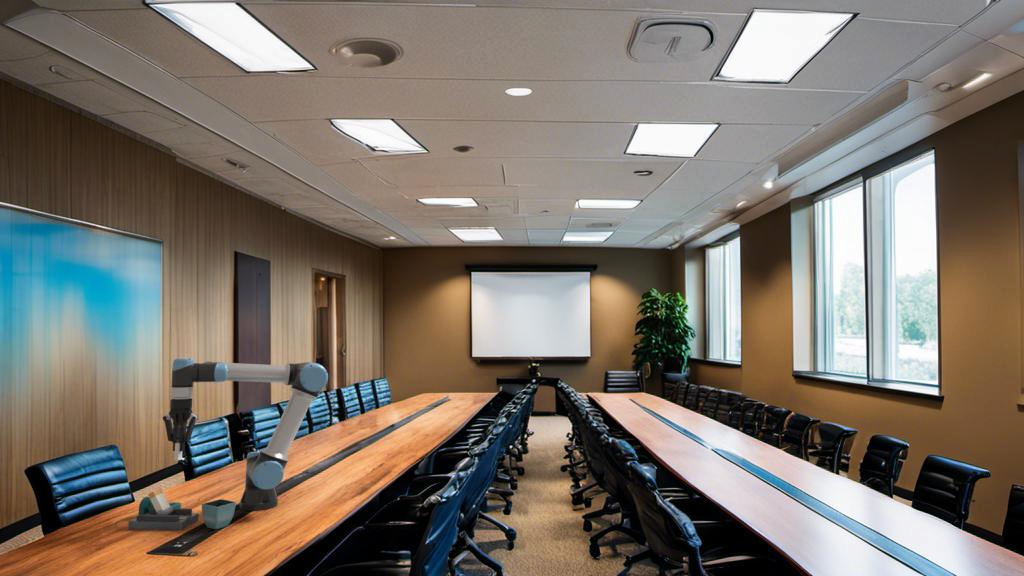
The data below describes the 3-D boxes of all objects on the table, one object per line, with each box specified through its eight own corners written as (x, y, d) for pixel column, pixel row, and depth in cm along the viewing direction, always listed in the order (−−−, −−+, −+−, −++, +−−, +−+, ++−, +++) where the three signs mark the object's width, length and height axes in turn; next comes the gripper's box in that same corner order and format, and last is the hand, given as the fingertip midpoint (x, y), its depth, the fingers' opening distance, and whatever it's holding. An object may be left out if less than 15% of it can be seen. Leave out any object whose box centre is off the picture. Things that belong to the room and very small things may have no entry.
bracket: (153, 520, 237) (155, 499, 238) (138, 519, 238) (139, 498, 239) (184, 508, 255) (185, 489, 256) (169, 507, 256) (171, 488, 257)
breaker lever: (174, 511, 234) (162, 487, 235) (165, 515, 228) (153, 491, 229) (167, 515, 234) (155, 491, 235) (158, 520, 228) (146, 495, 229)
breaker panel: (198, 521, 237) (198, 512, 237) (181, 530, 225) (182, 521, 225) (147, 520, 237) (148, 511, 237) (128, 529, 225) (128, 520, 225)
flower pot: (235, 525, 232) (237, 501, 232) (215, 532, 224) (217, 507, 224) (219, 522, 235) (220, 498, 236) (199, 528, 227) (200, 504, 228)
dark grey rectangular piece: (191, 513, 236) (192, 508, 236) (176, 521, 225) (176, 516, 226) (153, 512, 236) (153, 508, 237) (136, 520, 226) (136, 515, 226)
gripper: (203, 397, 239) (199, 458, 237) (170, 397, 239) (166, 457, 237) (193, 399, 232) (189, 461, 230) (159, 398, 232) (155, 461, 230)
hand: (178, 459), depth 234 cm, fingers closed
